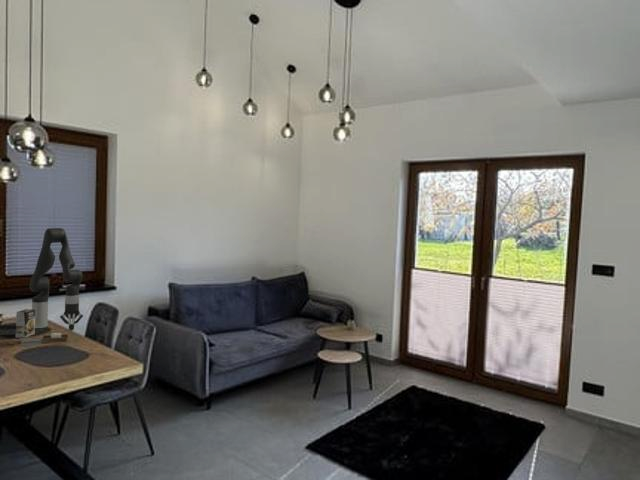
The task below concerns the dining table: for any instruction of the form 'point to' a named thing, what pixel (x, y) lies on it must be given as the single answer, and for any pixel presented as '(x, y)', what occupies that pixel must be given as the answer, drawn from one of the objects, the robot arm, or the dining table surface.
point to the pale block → (56, 335)
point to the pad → (31, 342)
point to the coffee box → (25, 323)
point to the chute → (54, 339)
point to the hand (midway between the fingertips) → (71, 330)
